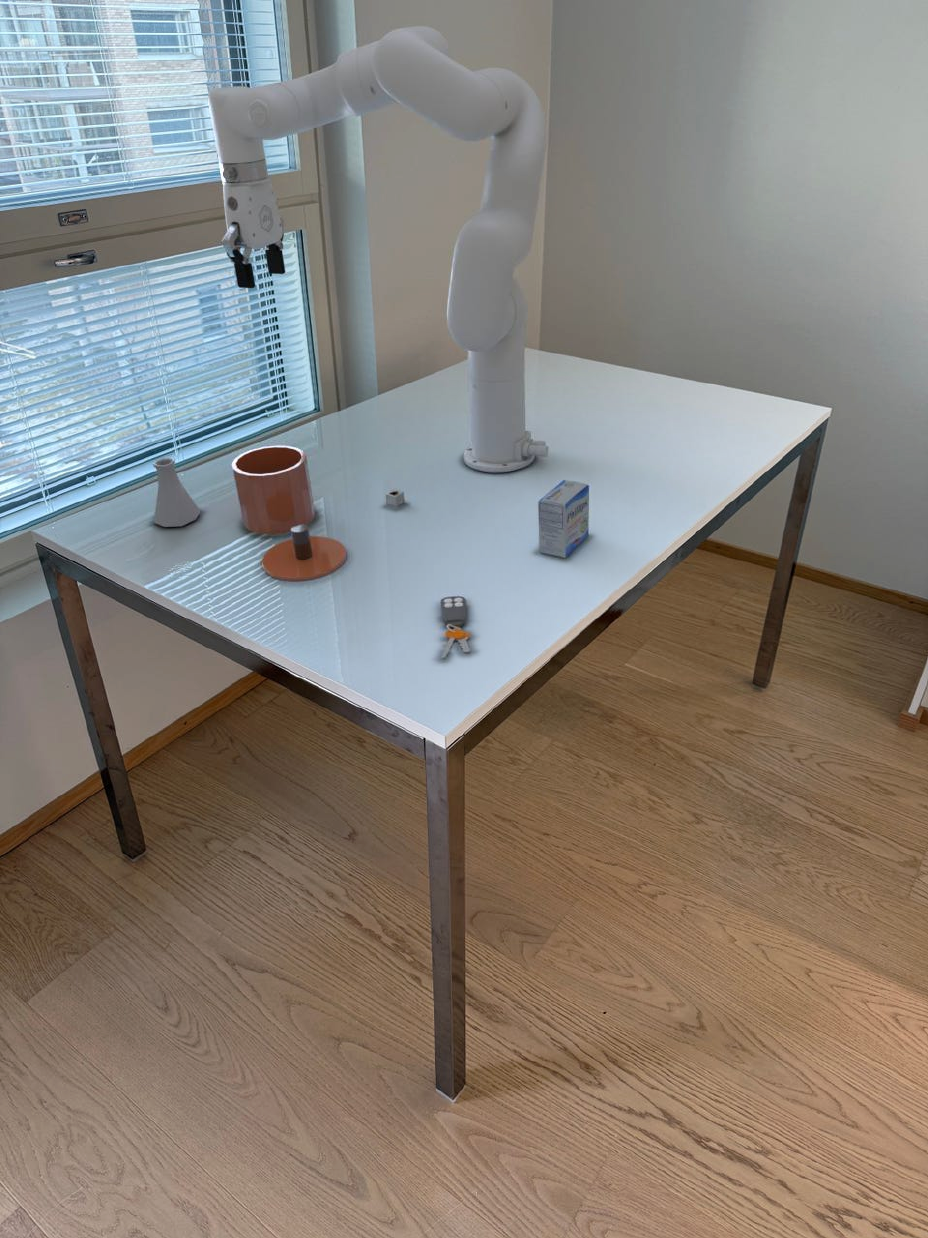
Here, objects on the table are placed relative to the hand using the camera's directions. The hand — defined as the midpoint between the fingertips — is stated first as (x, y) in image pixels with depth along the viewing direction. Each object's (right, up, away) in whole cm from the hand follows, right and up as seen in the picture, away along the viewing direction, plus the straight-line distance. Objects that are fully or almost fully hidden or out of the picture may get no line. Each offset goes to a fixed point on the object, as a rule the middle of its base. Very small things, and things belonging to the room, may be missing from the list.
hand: (262, 280), depth 165 cm
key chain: (+34, -61, -42) cm, 81 cm away
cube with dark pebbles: (+24, -41, -10) cm, 48 cm away
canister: (+5, -43, -12) cm, 45 cm away
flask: (-12, -43, -10) cm, 45 cm away
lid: (+12, -50, -25) cm, 57 cm away
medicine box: (+50, -48, -24) cm, 73 cm away
